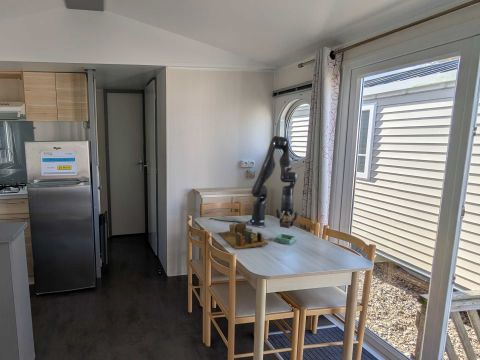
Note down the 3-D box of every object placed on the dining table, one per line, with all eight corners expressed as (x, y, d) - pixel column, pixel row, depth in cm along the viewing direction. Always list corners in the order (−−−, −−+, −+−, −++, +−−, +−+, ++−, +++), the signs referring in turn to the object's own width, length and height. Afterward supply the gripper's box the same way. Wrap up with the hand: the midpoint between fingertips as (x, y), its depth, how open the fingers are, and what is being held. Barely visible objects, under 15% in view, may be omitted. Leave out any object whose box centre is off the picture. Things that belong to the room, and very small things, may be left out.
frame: (288, 228, 199) (289, 224, 199) (279, 226, 203) (279, 222, 203) (292, 225, 205) (292, 221, 205) (283, 224, 209) (283, 220, 209)
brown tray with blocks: (271, 248, 192) (269, 226, 190) (236, 254, 189) (234, 232, 187) (248, 231, 226) (246, 212, 224) (218, 236, 224) (216, 217, 221)
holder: (289, 244, 198) (289, 240, 198) (275, 241, 204) (275, 237, 204) (295, 240, 207) (295, 236, 206) (281, 237, 213) (281, 233, 212)
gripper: (300, 201, 200) (299, 225, 202) (278, 199, 209) (277, 222, 212) (297, 203, 194) (295, 228, 197) (274, 200, 204) (273, 224, 206)
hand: (286, 225), depth 204 cm, fingers closed on frame, 6 cm apart
